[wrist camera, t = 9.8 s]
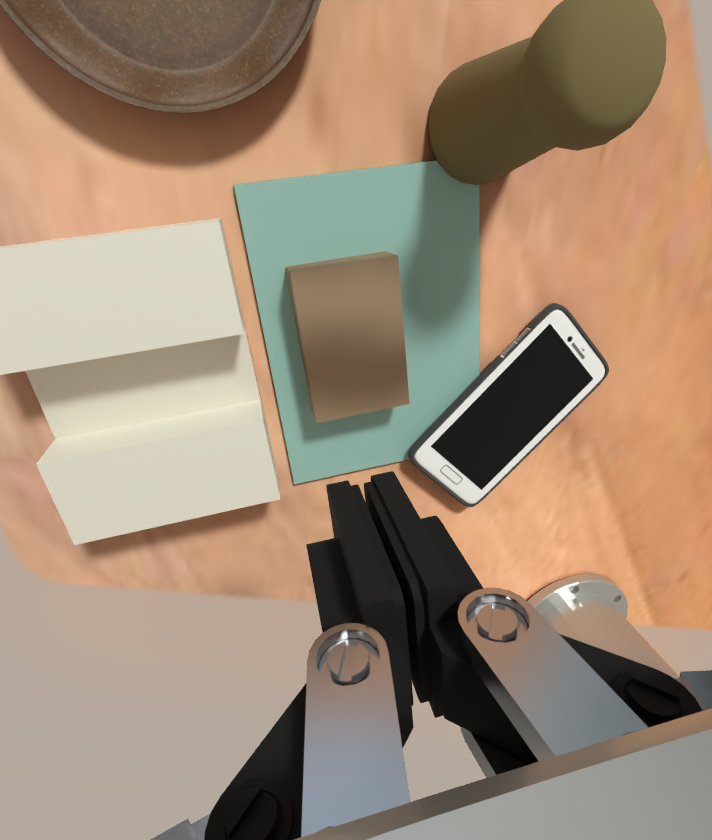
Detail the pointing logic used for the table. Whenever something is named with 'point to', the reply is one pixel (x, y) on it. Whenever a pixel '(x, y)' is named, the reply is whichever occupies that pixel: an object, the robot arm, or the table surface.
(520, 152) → the pepper mill
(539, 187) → the table surface
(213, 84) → the saucer
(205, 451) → the slotted block
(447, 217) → the mat
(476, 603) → the robot arm
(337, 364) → the brown flat block
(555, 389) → the cell phone
